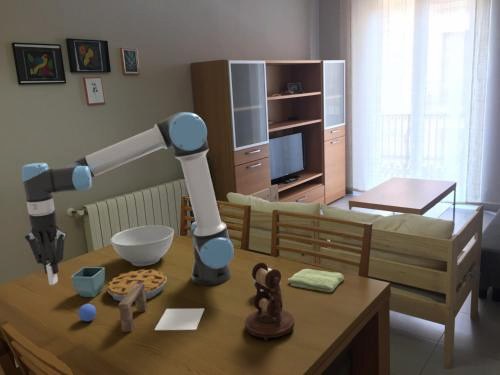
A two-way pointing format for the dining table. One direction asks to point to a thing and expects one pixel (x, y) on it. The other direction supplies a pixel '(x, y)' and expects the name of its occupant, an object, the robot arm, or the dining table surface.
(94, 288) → the flower pot
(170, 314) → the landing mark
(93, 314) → the ball
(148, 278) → the pie
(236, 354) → the dining table surface
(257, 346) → the dining table surface
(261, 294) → the brown wooden tall piece
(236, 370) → the dining table surface
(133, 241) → the decorative bowl
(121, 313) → the bridge
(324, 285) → the washcloth
